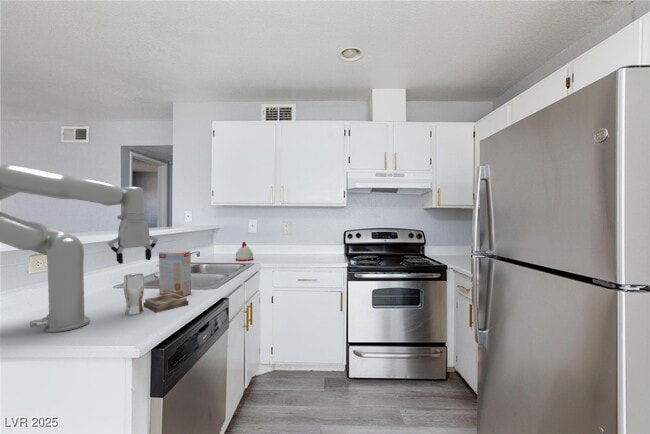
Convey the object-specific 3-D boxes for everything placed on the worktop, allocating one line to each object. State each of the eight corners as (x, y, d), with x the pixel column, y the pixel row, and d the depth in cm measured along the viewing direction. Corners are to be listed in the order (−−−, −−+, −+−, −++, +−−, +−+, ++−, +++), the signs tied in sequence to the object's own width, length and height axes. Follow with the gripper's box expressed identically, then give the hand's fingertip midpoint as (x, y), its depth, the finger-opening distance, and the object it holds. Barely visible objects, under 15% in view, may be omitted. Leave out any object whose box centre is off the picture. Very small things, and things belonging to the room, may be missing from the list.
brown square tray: (155, 312, 120) (155, 305, 120) (143, 306, 129) (143, 299, 128) (188, 304, 130) (188, 297, 130) (174, 299, 138) (174, 292, 138)
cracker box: (191, 293, 147) (191, 250, 147) (182, 297, 142) (181, 252, 141) (168, 291, 152) (168, 249, 151) (158, 294, 146) (158, 251, 145)
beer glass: (121, 316, 116) (120, 277, 116) (127, 310, 123) (126, 273, 122) (141, 314, 118) (141, 276, 117) (146, 309, 124) (146, 272, 124)
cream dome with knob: (233, 261, 243) (232, 242, 242) (239, 258, 256) (239, 241, 256) (250, 261, 241) (249, 242, 241) (255, 258, 255) (255, 241, 255)
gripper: (110, 219, 110) (111, 266, 111) (160, 217, 124) (161, 259, 124) (104, 219, 115) (105, 263, 116) (153, 217, 129) (154, 257, 129)
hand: (134, 261), depth 120 cm, fingers open, 9 cm apart
